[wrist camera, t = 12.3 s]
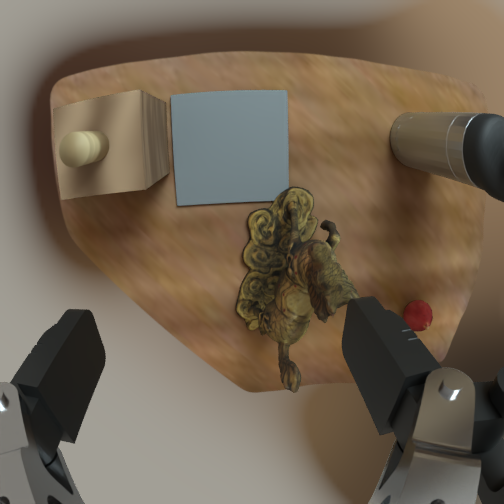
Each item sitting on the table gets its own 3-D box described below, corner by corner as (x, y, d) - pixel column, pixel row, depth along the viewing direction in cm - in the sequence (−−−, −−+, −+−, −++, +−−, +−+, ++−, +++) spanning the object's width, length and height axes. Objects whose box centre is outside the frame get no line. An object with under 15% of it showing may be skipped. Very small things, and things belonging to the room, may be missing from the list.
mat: (286, 90, 38) (287, 90, 38) (287, 199, 44) (288, 200, 44) (171, 95, 37) (170, 95, 37) (177, 205, 43) (177, 205, 43)
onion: (424, 293, 53) (446, 314, 46) (414, 317, 55) (434, 340, 48) (402, 292, 52) (423, 314, 45) (392, 318, 54) (411, 342, 47)
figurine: (342, 202, 45) (417, 256, 26) (282, 333, 53) (310, 424, 35) (263, 174, 42) (300, 213, 24) (212, 318, 51) (214, 415, 32)
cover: (166, 102, 38) (123, 81, 20) (169, 172, 41) (131, 200, 24) (99, 113, 37) (27, 107, 20) (104, 179, 41) (37, 211, 24)
